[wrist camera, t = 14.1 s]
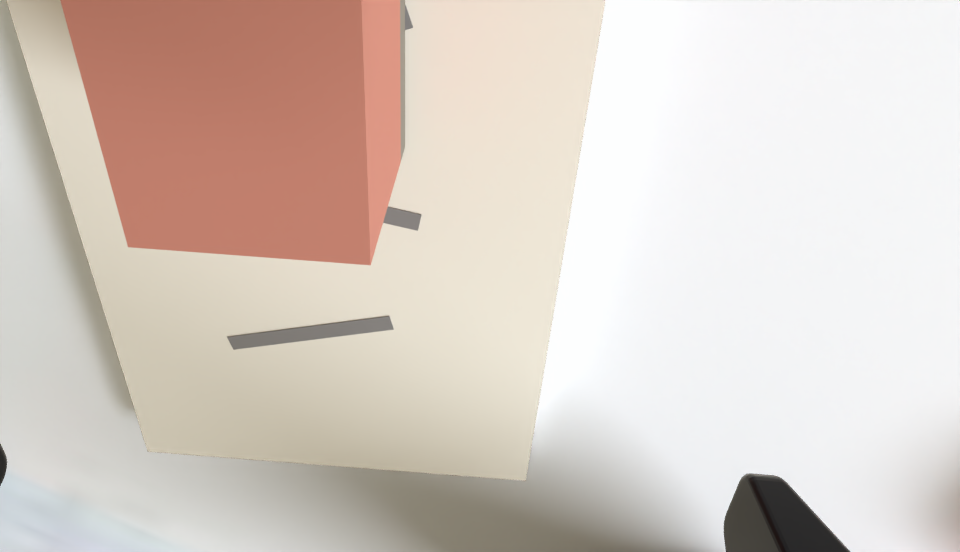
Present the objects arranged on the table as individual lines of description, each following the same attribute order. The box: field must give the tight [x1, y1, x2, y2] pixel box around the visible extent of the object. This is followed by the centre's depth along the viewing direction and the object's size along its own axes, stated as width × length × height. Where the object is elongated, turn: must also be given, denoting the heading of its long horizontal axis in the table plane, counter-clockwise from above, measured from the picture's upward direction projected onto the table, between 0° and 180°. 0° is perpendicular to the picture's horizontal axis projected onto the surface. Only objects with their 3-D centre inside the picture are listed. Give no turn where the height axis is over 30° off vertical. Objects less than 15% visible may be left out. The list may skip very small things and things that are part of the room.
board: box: [6, 0, 605, 481], centre depth 19 cm, size 20×13×1 cm, turn 176°
